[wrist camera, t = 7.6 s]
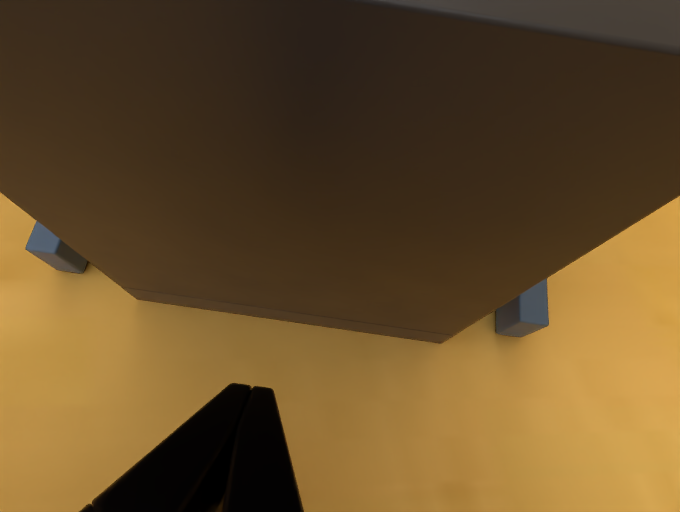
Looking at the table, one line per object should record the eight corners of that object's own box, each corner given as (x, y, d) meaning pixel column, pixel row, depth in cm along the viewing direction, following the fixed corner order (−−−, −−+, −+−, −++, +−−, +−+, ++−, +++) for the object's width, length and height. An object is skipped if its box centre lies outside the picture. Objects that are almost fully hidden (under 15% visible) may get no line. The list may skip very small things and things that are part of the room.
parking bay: (521, 337, 16) (550, 326, 14) (55, 270, 16) (23, 249, 14) (514, 21, 22) (533, -16, 20) (174, -35, 22) (162, -78, 20)
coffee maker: (441, 344, 16) (868, 81, 4) (136, 299, 16) (-416, -131, 4) (454, 51, 21) (656, -450, 9) (224, 14, 21) (118, -555, 9)
